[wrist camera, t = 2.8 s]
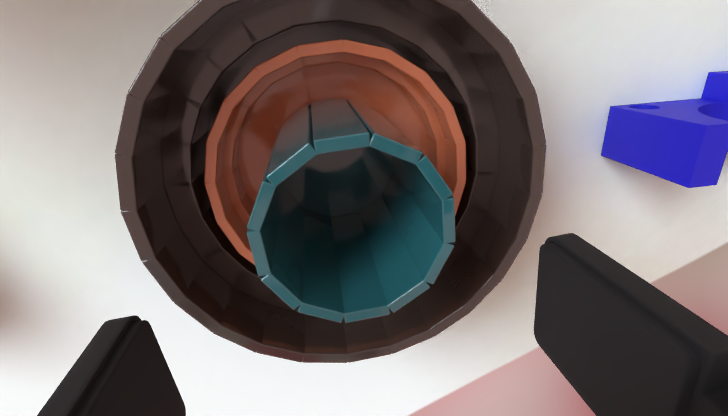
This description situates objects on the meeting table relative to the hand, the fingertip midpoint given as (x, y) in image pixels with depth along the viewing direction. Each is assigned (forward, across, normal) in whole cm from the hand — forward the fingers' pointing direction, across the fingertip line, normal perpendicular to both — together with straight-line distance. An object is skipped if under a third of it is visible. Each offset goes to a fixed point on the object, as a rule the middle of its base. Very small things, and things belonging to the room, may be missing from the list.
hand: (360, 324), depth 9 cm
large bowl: (+14, -1, 0) cm, 14 cm away
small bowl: (+14, -1, 0) cm, 14 cm away
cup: (+13, -1, 0) cm, 13 cm away
